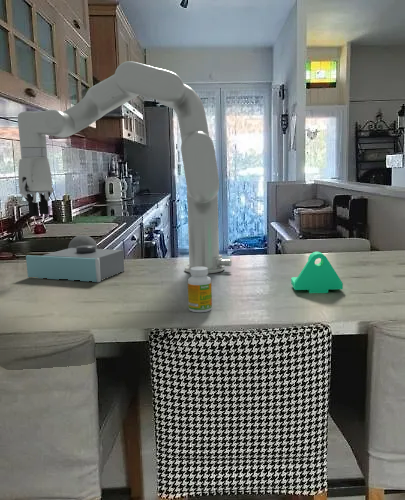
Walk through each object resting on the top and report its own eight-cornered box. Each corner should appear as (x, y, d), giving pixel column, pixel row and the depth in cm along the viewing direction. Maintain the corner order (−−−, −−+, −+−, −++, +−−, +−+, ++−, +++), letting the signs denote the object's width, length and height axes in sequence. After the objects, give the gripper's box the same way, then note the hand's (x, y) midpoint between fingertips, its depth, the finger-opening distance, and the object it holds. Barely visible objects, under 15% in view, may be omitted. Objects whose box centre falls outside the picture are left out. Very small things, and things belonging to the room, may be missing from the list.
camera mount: (335, 286, 129) (336, 248, 127) (342, 293, 121) (343, 253, 120) (290, 286, 129) (290, 249, 128) (294, 294, 122) (295, 254, 120)
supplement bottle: (201, 314, 106) (200, 271, 105) (183, 310, 110) (182, 268, 108) (216, 308, 110) (215, 267, 109) (199, 304, 114) (197, 264, 112)
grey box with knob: (124, 271, 153) (122, 245, 152) (99, 281, 140) (97, 252, 139) (72, 268, 161) (70, 243, 159) (44, 277, 148) (42, 250, 146)
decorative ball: (69, 261, 173) (67, 234, 171) (97, 259, 175) (96, 232, 174) (68, 266, 164) (66, 237, 162) (98, 264, 166) (96, 236, 164)
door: (101, 281, 140) (100, 258, 139) (99, 282, 139) (97, 259, 137) (30, 276, 148) (28, 255, 147) (27, 277, 147) (25, 255, 146)
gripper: (42, 155, 154) (47, 212, 157) (3, 154, 138) (9, 217, 142) (62, 154, 151) (66, 212, 154) (24, 153, 136) (29, 217, 139)
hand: (39, 214), depth 148 cm, fingers open, 3 cm apart
